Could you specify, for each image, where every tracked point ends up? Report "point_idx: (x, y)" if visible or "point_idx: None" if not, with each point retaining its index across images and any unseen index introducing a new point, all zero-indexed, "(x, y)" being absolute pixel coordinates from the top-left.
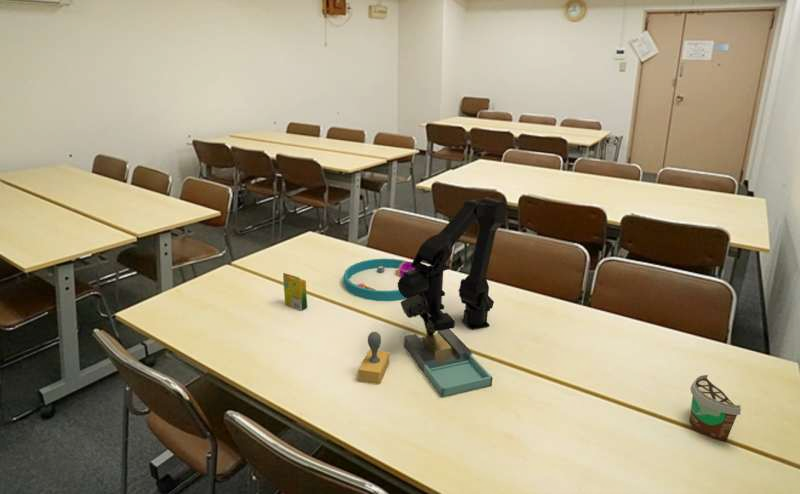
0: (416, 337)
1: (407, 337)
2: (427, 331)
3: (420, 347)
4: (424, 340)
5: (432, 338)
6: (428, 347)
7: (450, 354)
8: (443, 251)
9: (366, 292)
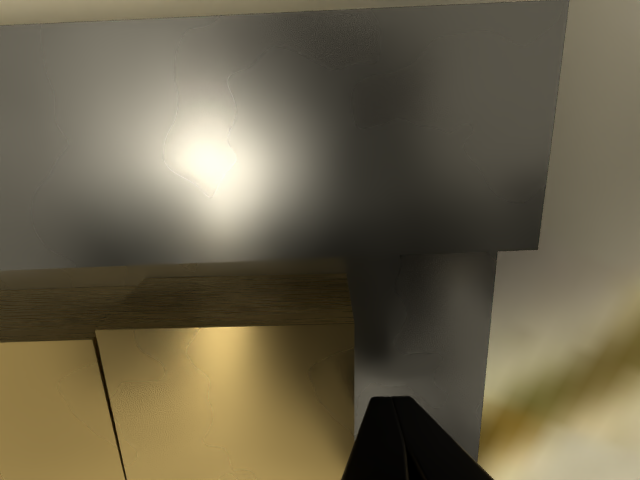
0: (411, 220)
1: (479, 48)
2: (389, 464)
3: (59, 166)
4: (270, 311)
5: (244, 441)
6: (130, 300)
7: None
8: None
9: None
